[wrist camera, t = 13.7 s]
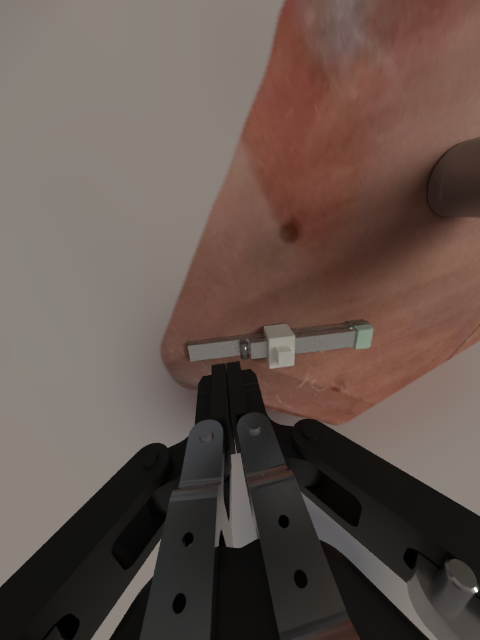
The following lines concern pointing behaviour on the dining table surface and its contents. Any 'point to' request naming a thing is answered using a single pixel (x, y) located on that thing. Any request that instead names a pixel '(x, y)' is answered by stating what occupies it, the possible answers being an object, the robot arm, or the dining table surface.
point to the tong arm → (320, 341)
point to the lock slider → (280, 345)
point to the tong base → (242, 344)
